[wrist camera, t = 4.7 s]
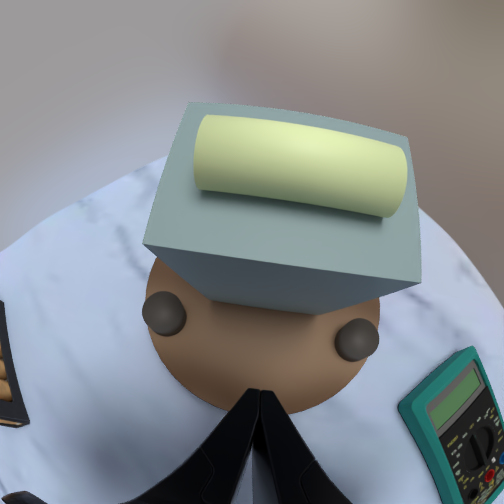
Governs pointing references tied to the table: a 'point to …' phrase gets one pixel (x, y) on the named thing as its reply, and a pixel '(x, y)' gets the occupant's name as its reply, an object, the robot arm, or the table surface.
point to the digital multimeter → (459, 429)
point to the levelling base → (255, 344)
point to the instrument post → (286, 209)
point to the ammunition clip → (9, 383)
